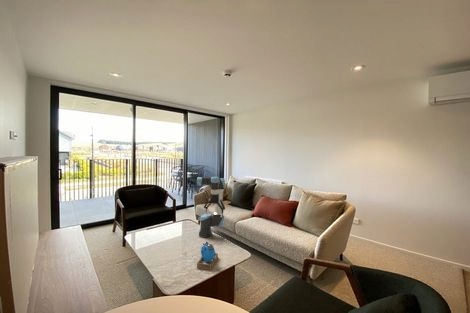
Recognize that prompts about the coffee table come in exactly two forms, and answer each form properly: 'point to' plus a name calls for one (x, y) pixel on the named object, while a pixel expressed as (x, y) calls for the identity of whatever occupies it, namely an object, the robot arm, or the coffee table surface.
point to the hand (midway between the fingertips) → (214, 216)
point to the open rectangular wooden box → (206, 263)
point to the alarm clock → (207, 252)
